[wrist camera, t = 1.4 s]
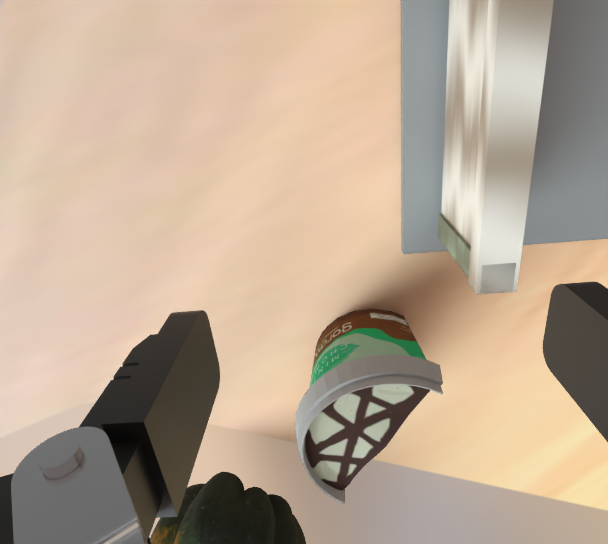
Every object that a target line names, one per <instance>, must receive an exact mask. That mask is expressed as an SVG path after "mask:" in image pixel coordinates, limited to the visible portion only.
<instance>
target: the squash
mask: <svg viewBox="0 0 608 544" xmlns="http://www.w3.org/2000/svg"><path fill="white" fill-rule="evenodd" d="M150 540H151V543H152V544H306V542H305V537H304V534H303V532H302V529H301V527H300V525H299V523H298V521H297V519H296V518H295V516H294V515H293V514H292V511H291V508H290V506H289V504H288V503H287V501H286V500H285V499H283V498H282V497H281V496H278V495H274V494H273V495H272V494H271V495H267V493H266V492H265V491H263V490H262V489H261V488H258V487H252V488H248V489H247V490H245V491H244V486H243V483H242V482H241V480H240V479H239V478H238V477H237V476H236V475H234V474H231V473H229V472H220V473H218V474H216V475H215V476H213V477H212V478H211V479H210V480H209V481H208V482H207V483H206V484H197V485H192V486H190V487H188V488H186V491H185V495H184V498H183V501H182V504H181V507H180V510H179V513H178V516H177V517H161V518H160V520H159V521H158V523H157V525H156V527H155V529H154V531H153V533H152V535H151V538H150Z"/></svg>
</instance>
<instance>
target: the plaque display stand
mask: <svg viewBox="0 0 608 544" xmlns="http://www.w3.org/2000/svg"><path fill="white" fill-rule="evenodd" d="M448 26H449V0H401V218H402V252H403V254H411V253H424V252H437V251H448V250H447V248H446V247H445V246H444V244H443V243H442V242H441V240H440V239H439V237H438V214H441V208H442V182H443V156H444V130H445V104H446V78H447V52H448ZM596 239H608V0H554V3H553V11H552V19H551V27H550V35H549V43H548V50H547V58H546V66H545V74H544V82H543V89H542V97H541V105H540V113H539V121H538V129H537V136H536V144H535V152H534V160H533V168H532V175H531V183H530V191H529V199H528V207H527V215H526V222H525V230H524V238H523V245H530V244H543V243H556V242H569V241H583V240H596Z"/></svg>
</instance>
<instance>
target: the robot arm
mask: <svg viewBox="0 0 608 544" xmlns="http://www.w3.org/2000/svg"><path fill="white" fill-rule="evenodd" d="M543 353H544V358H545V361H546V364H547V366H548V368H549V369H550V371H551V372H552V373H553V375H554V376H555V377H556V378H557V380H558V381H559V382H560V383H561V385H562V386H563V387H564V388H565V390H566V391H567V392H568V393H569V395H570V396H571V397H572V398H573V399H574V401H575V402H576V403H577V404H578V406H579V407H580V408H581V409H582V411H583V412H584V413H585V414H586V416H587V417H588V418H589V419H590V421H591V422H592V423H593V424H594V426H595V427H596V428H597V429H598V431H599V432H600V433H601V434H602V436H603V437H604V438H605V439H606V441H607V442H608V289H607V288H605V287H604V286H603V285H601V284H600V283H598V282H583V283H570V284H559V285H557V286H555V287H554V289H553V291H552V294H551V298H550V304H549V310H548V316H547V322H546V328H545V334H544V340H543ZM219 382H220V369H219V362H218V358H217V353H216V349H215V345H214V341H213V336H212V332H211V328H210V323H209V319H208V316H207V314H206V312H205V311H203V310H201V311H188V312H175V313H171V314H170V316H169V317H168V319H167V320H166V322H165V323H164V325H163V327H162V328H161V330H160V331H159V333H158V334H155V335H150V336H148V337H147V338H146V339H145V340H143V341H142V342H141V343H139V344H138V345H137V346H136V347H134V348H133V349H132V351H131V352H130V354H129V355H128V357H127V358H126V359H125V361H124V362H123V367H120V368H119V370H118V371H117V373H116V374H115V375H114V380H111V381H110V383H109V384H108V386H107V387H106V389H105V390H104V391H103V393H102V394H101V396H100V397H99V399H98V400H97V402H96V403H95V404H94V406H93V407H92V409H91V410H90V412H89V413H88V415H87V416H86V418H85V419H84V421H83V422H82V423H81V425H80V426H79V427H78V428H74V429H70V430H67V431H64V432H62V433H59V434H57V435H55V436H53V437H51V438H49V439H47V440H46V441H45V442H43V443H41V444H40V445H39V446H37V447H36V448H35V449H33V450H32V451H31V452H30V453H29V454H28V455H27V456H26V457H25V458H24V459H23V460H22V461H21V463H20V464H19V465H18V467H17V469H16V470H15V472H14V473H13V474H10V475H6V476H3V477H0V544H152V543H151V540H150V538H149V535H150V532H151V529H152V527H153V524H154V521H155V518H158V517H177V516H178V513H179V510H180V507H181V504H182V501H183V498H184V495H185V491H186V488H187V485H188V482H189V479H190V476H191V473H192V469H193V467H194V463H195V460H196V457H197V454H198V451H199V448H200V444H201V442H202V439H203V435H204V432H205V429H206V426H207V423H208V420H209V417H210V414H211V411H212V407H213V404H214V401H215V398H216V395H217V392H218V388H219Z"/></svg>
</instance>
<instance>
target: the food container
mask: <svg viewBox="0 0 608 544" xmlns="http://www.w3.org/2000/svg"><path fill="white" fill-rule="evenodd" d="M442 383H443V381H442V375H441V370H440V365H438V364H436V363H433V362H431V361H428V360H426V358H425V356H424V354H423V352H422V350H421V348H420V346H419V345H418V343H417V341H416V339H415V337H414V335H413V333H412V331H411V329H410V328H409V326H408V324H407V322H406V320H405V318H404V316H401V315H399V314H396V313H394V312H391V311H384V310H377V309H367V310H360V311H353V312H351V313H349V314H346V315H344V316H342V317H339V318H337V319H336V320H335V321H333V322H332V323H331V324H330V325H329V326H327V327H326V329H325V330H324V331H323V332H322V334H321V336H320V338H319V339H318V342H317V346H316V351H315V357H314V364H313V370H312V376H311V383H310V388H309V389H308V390H307V392H306V393H305V394H304V396H303V398H302V400H301V402H300V403H299V406H298V409H297V412H296V419H295V432H296V439H297V444H298V450H299V453H300V457H301V460H302V462H303V464H304V466H305V469H306V470H307V472H308V474H309V476H310V478H311V479H312V480H313V482H314V483H315V484H316V485H317V486H318V487H319V488H320V489H321V490H322V491H323V492H324V493H326V494H327V495H329V496H330V497H332V498H333V499H335V500H337V501H339V502H341V503H343V504H344V503H345V488H346V487H347V486H348V485H349V484H350V482H351V481H352V479H353V478H354V477H355V475H356V474H357V473H358V472H359V471H360V470H361V469H362V467H363V466H365V465H366V464H367V463H368V462H369V461H370V460H371V459H373V458H374V457H375V456H376V455H377V454H378V453H379V452H380V451H381V450H383V449H384V448H385V447H386V446H387V444H388V443H389V442H390V440H391V439H392V438H393V436H394V435H395V433H396V432H397V430H398V429H399V427H400V426H401V425H402V423H403V422H404V421H405V419H406V418H407V417H408V415H409V414H410V413H411V412H412V411H413V409H414V408H415V407H416V406H417V405H418V404H419V403H420V401H421V400H422V399H423V398H424V397H425V396H426V395H427V393H428V392H429V391H430V390H432V391H435V392H437V393H440V394H443V392H442V389H441V386H440V385H442Z"/></svg>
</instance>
